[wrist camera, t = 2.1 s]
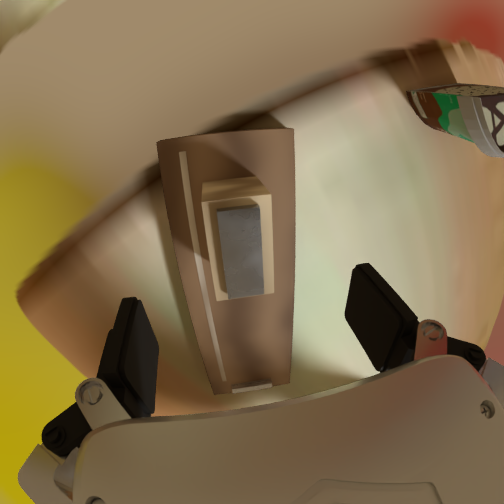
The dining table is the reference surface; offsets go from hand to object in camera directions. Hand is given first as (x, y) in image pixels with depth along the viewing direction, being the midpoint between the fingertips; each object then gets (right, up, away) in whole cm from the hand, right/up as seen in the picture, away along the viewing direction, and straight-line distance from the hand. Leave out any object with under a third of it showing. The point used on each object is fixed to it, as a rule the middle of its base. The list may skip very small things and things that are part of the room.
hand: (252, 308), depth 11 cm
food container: (+20, +17, +10) cm, 28 cm away
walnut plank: (-1, -1, +15) cm, 15 cm away
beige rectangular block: (-1, +5, +10) cm, 11 cm away
